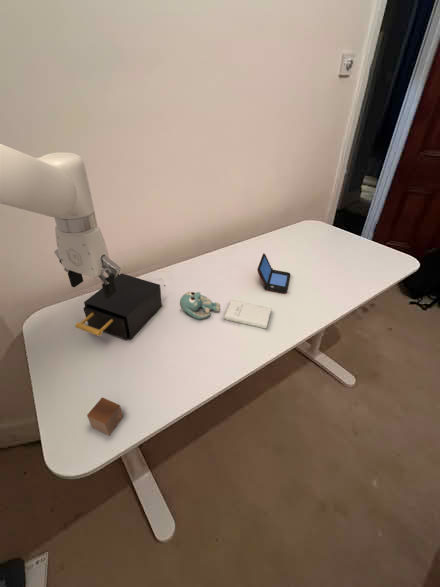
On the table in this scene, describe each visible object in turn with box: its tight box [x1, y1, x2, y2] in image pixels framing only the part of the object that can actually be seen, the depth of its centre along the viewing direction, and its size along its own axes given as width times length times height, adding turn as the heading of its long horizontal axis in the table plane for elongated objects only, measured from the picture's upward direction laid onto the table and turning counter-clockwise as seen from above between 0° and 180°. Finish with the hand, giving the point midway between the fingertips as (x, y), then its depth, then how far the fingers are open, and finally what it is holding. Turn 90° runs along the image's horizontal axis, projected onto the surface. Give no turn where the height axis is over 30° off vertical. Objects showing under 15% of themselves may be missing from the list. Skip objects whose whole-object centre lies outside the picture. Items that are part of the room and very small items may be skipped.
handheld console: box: [257, 253, 291, 294], centre depth 103 cm, size 12×11×7 cm
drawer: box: [75, 305, 129, 340], centre depth 83 cm, size 20×12×6 cm, turn 157°
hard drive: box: [224, 300, 272, 330], centre depth 90 cm, size 2×8×12 cm
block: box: [86, 396, 124, 437], centre depth 61 cm, size 4×4×4 cm
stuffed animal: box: [179, 291, 221, 320], centre depth 90 cm, size 11×7×12 cm
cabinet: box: [83, 272, 163, 340], centre depth 86 cm, size 16×14×8 cm
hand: (93, 289), depth 71 cm, fingers open, 9 cm apart
